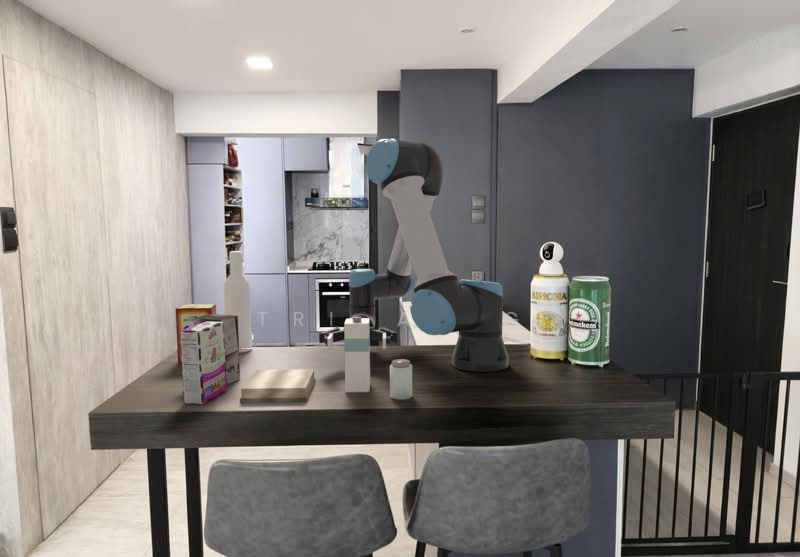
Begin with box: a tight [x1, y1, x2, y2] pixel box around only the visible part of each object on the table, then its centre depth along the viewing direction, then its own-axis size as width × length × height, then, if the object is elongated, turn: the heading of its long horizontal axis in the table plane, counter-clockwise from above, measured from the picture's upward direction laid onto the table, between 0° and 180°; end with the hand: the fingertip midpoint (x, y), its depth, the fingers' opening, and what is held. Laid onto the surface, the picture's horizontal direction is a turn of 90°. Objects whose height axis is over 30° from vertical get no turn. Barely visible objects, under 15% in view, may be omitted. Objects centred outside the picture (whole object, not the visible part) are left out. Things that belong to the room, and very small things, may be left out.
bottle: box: [223, 250, 253, 354], centre depth 183 cm, size 8×8×30 cm
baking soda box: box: [175, 303, 217, 365], centre depth 169 cm, size 10×6×16 cm
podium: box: [239, 368, 317, 403], centre depth 141 cm, size 15×17×3 cm
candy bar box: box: [180, 321, 228, 405], centre depth 136 cm, size 11×5×16 cm, turn 168°
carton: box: [343, 317, 371, 393], centre depth 142 cm, size 6×7×17 cm
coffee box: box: [193, 313, 241, 385], centre depth 150 cm, size 9×6×16 cm
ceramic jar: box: [389, 358, 413, 401], centre depth 136 cm, size 5×5×8 cm
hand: (356, 344), depth 149 cm, fingers open, 13 cm apart
